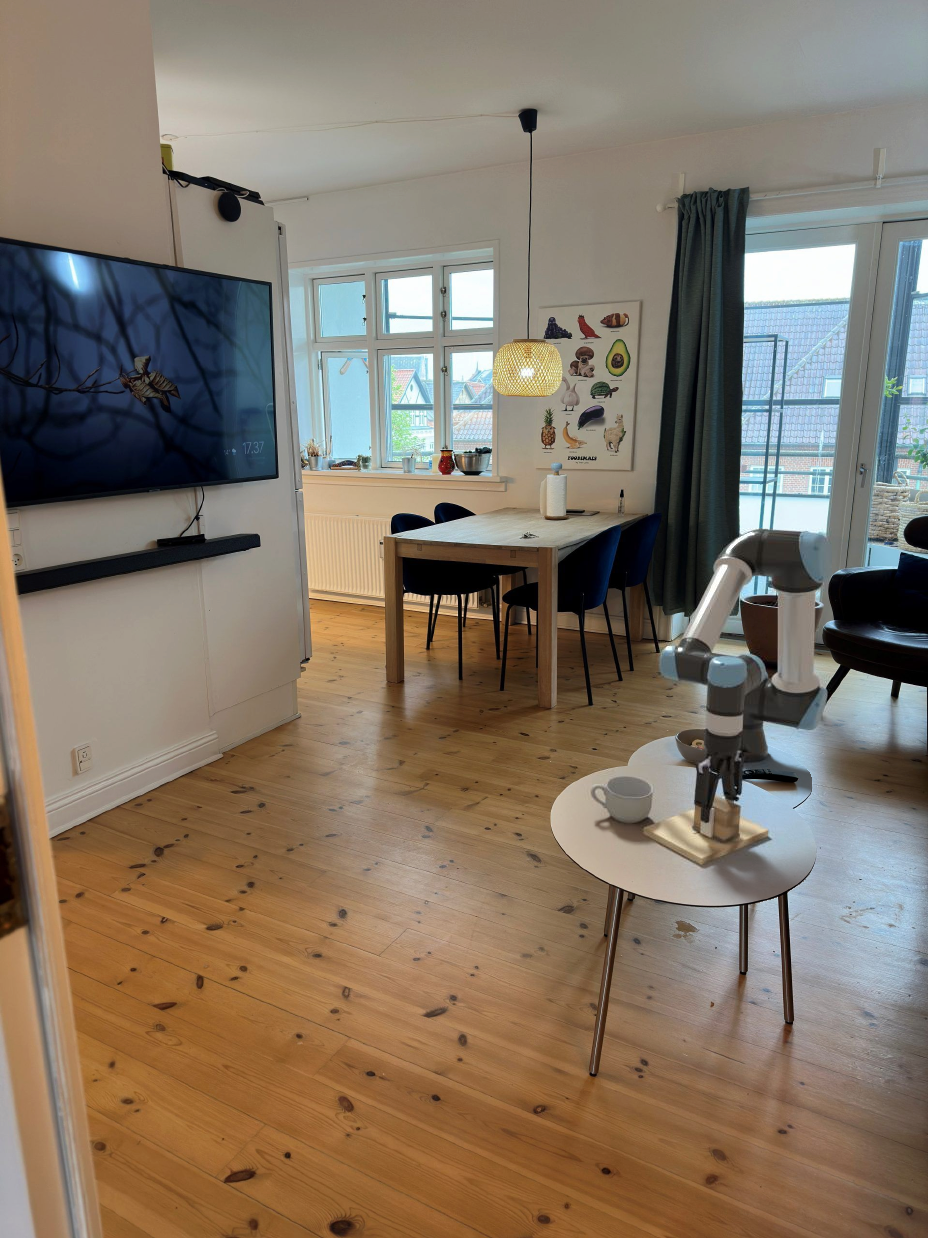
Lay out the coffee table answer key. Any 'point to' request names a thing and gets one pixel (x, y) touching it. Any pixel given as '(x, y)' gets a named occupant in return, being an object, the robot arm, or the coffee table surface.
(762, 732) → the robot arm
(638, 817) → the teacup
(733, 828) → the brown wooden block
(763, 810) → the coffee table surface
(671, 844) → the pine board
